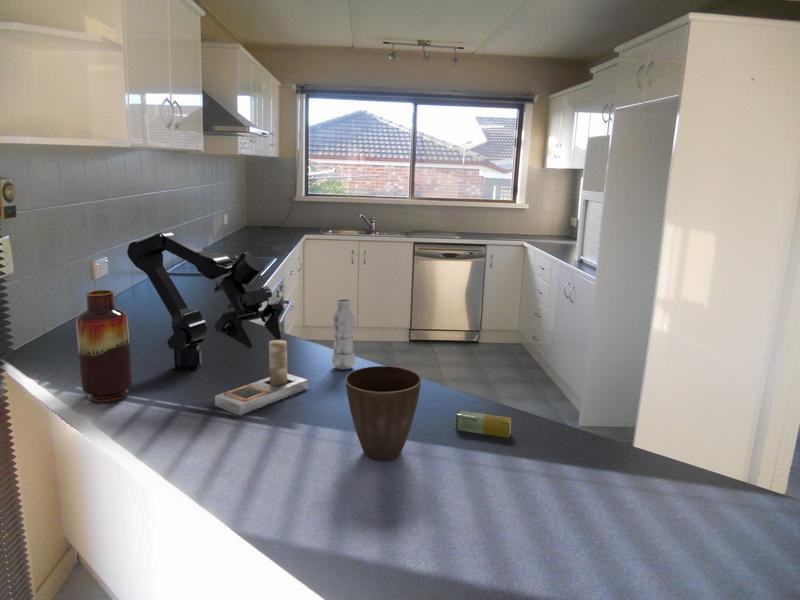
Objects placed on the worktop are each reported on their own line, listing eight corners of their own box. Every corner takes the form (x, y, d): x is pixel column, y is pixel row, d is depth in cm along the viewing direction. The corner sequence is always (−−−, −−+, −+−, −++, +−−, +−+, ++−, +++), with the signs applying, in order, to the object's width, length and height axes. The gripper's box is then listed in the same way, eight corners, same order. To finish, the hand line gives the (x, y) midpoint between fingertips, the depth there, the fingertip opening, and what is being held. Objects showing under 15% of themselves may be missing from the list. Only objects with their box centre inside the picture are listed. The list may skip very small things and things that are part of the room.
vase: (83, 408, 140) (72, 298, 134) (83, 392, 149) (73, 289, 144) (134, 400, 145) (126, 295, 139) (131, 386, 154) (123, 286, 149)
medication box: (454, 430, 133) (455, 414, 132) (457, 425, 135) (458, 409, 134) (509, 439, 130) (510, 422, 129) (510, 433, 132) (512, 416, 131)
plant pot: (392, 479, 111) (394, 397, 108) (329, 457, 119) (329, 381, 115) (432, 448, 123) (434, 375, 120) (372, 431, 131) (373, 361, 128)
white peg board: (240, 415, 138) (239, 404, 137) (215, 405, 143) (214, 395, 142) (307, 388, 155) (307, 379, 155) (283, 381, 160) (283, 371, 160)
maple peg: (269, 394, 151) (268, 345, 148) (270, 388, 155) (269, 340, 152) (287, 394, 151) (286, 344, 148) (288, 388, 155) (287, 339, 153)
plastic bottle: (359, 366, 173) (359, 299, 169) (347, 373, 167) (347, 304, 163) (339, 363, 176) (339, 297, 172) (327, 370, 170) (327, 301, 166)
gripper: (219, 281, 146) (249, 333, 142) (279, 272, 160) (307, 319, 156) (202, 308, 153) (230, 358, 148) (261, 297, 167) (288, 342, 162)
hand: (265, 343), depth 154 cm, fingers open, 9 cm apart
